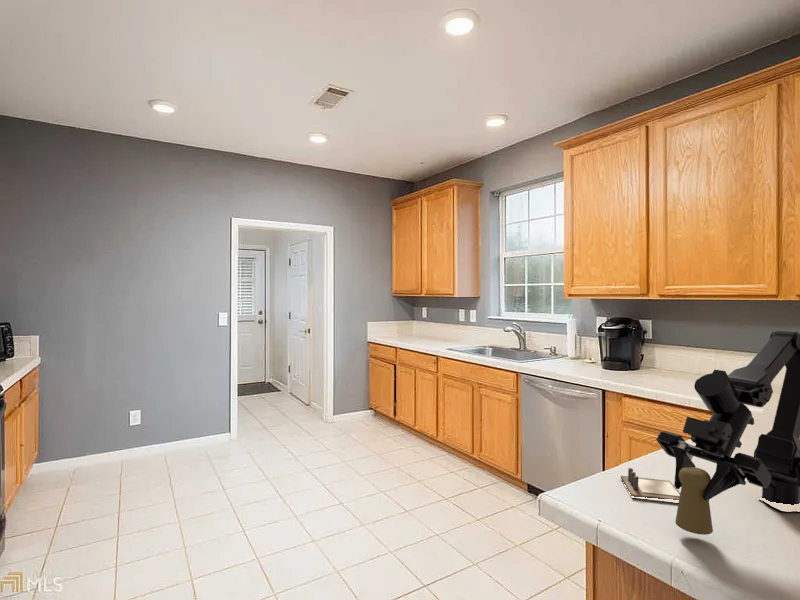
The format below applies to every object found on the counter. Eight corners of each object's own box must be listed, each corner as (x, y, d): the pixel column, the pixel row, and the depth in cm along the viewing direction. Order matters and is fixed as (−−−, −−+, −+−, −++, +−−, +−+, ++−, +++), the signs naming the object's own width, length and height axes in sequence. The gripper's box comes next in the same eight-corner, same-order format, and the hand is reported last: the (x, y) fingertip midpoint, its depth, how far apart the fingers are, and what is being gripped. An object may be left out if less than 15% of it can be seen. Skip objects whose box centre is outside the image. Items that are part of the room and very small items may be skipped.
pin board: (669, 484, 112) (669, 468, 112) (685, 504, 101) (686, 486, 101) (620, 479, 114) (621, 463, 114) (631, 498, 104) (632, 481, 104)
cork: (698, 518, 90) (699, 462, 90) (720, 534, 84) (722, 475, 84) (668, 518, 90) (669, 463, 90) (688, 534, 84) (689, 475, 84)
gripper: (662, 392, 97) (626, 452, 92) (764, 414, 80) (726, 488, 75) (685, 424, 100) (651, 483, 96) (786, 452, 83) (751, 525, 79)
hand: (689, 493), depth 86 cm, fingers closed on cork, 5 cm apart
